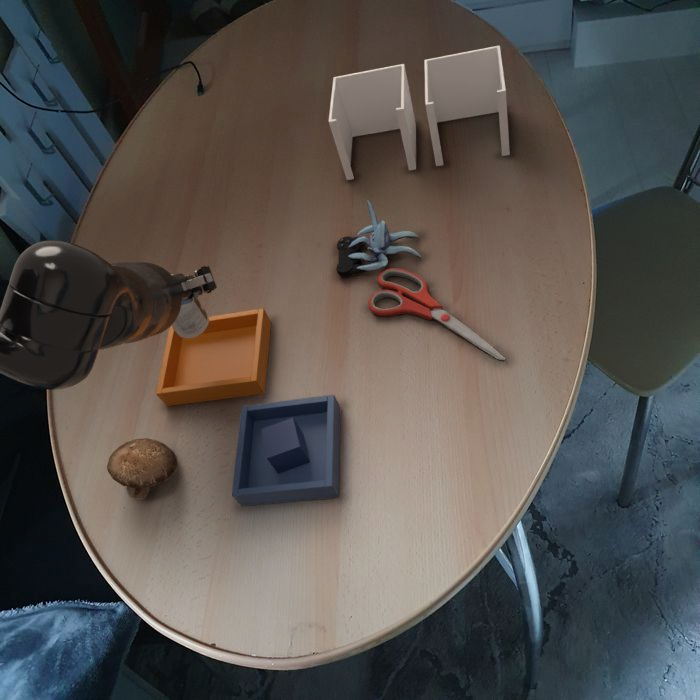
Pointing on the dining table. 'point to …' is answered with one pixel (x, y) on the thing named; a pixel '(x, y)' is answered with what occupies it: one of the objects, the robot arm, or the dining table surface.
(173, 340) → the amber tray
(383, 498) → the dining table surface
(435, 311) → the scissors
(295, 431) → the blue block
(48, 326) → the robot arm
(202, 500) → the dining table surface
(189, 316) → the pill bottle
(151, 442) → the mushroom
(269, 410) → the blue tray
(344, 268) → the figurine
